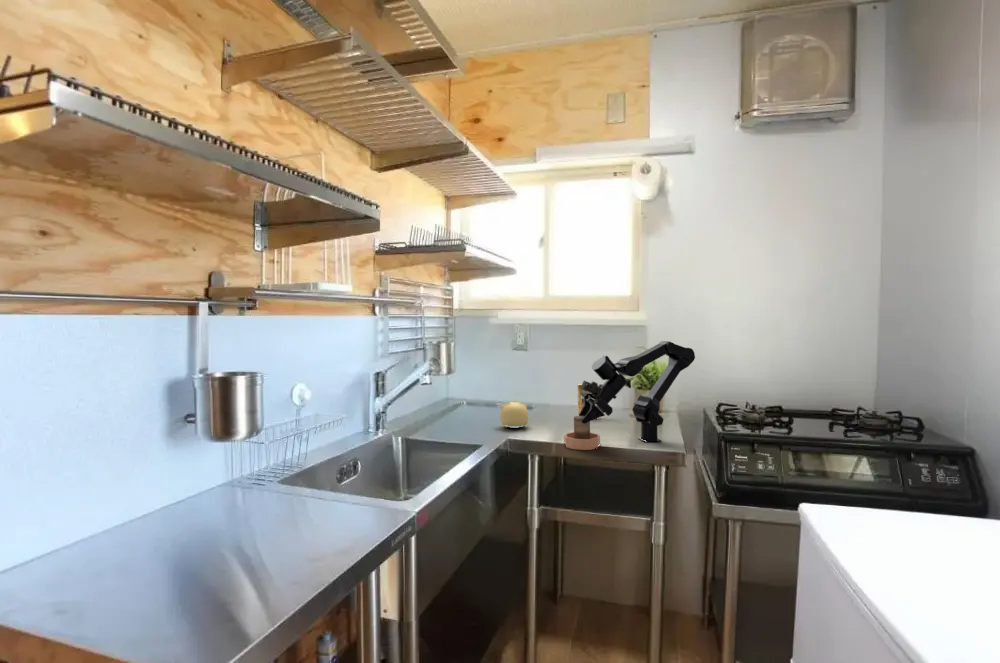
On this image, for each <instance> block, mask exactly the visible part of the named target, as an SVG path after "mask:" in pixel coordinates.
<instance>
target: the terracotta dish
mask: <svg viewBox="0 0 1000 663" xmlns="http://www.w3.org/2000/svg"><path fill="white" fill-rule="evenodd" d="M564 442H565V444H566V447H565V448H567V449H571V450H581V451H586V450H587V451H591V450H596V449H597V448H596V447H597V446H598V445H599V444H600V445H601V435H599V434H598V433H594V432H591V431H590V439H575V438H574V431H573V432H567V433H565V434H563V443H564ZM595 448H596V449H595Z"/></svg>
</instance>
